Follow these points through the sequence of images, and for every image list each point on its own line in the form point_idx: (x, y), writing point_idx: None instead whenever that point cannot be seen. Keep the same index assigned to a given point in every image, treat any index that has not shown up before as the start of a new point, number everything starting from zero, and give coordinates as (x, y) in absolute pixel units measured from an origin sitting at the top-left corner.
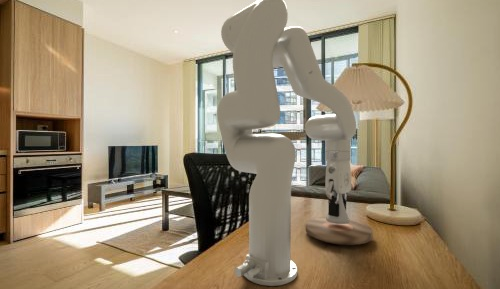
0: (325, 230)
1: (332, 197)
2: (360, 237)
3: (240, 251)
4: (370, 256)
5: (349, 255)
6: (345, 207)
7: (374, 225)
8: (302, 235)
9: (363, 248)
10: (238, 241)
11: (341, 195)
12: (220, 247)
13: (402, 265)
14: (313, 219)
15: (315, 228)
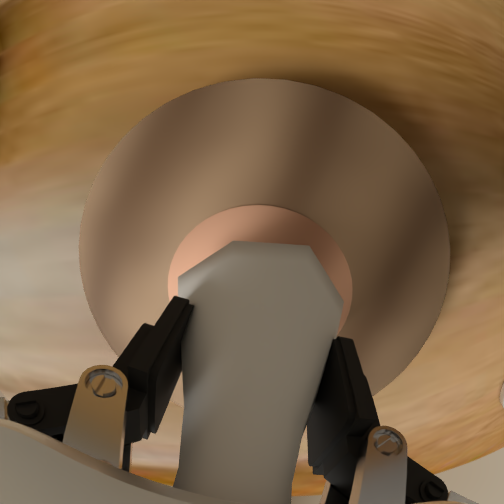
0: (366, 343)
1: (444, 494)
2: (414, 154)
3: (462, 441)
4: (447, 116)
5: (467, 201)
6: (172, 326)
7: (19, 130)
8: None
9: None
10: None
11: (262, 487)
12: (443, 467)
13: (458, 22)
14: None
15: None
